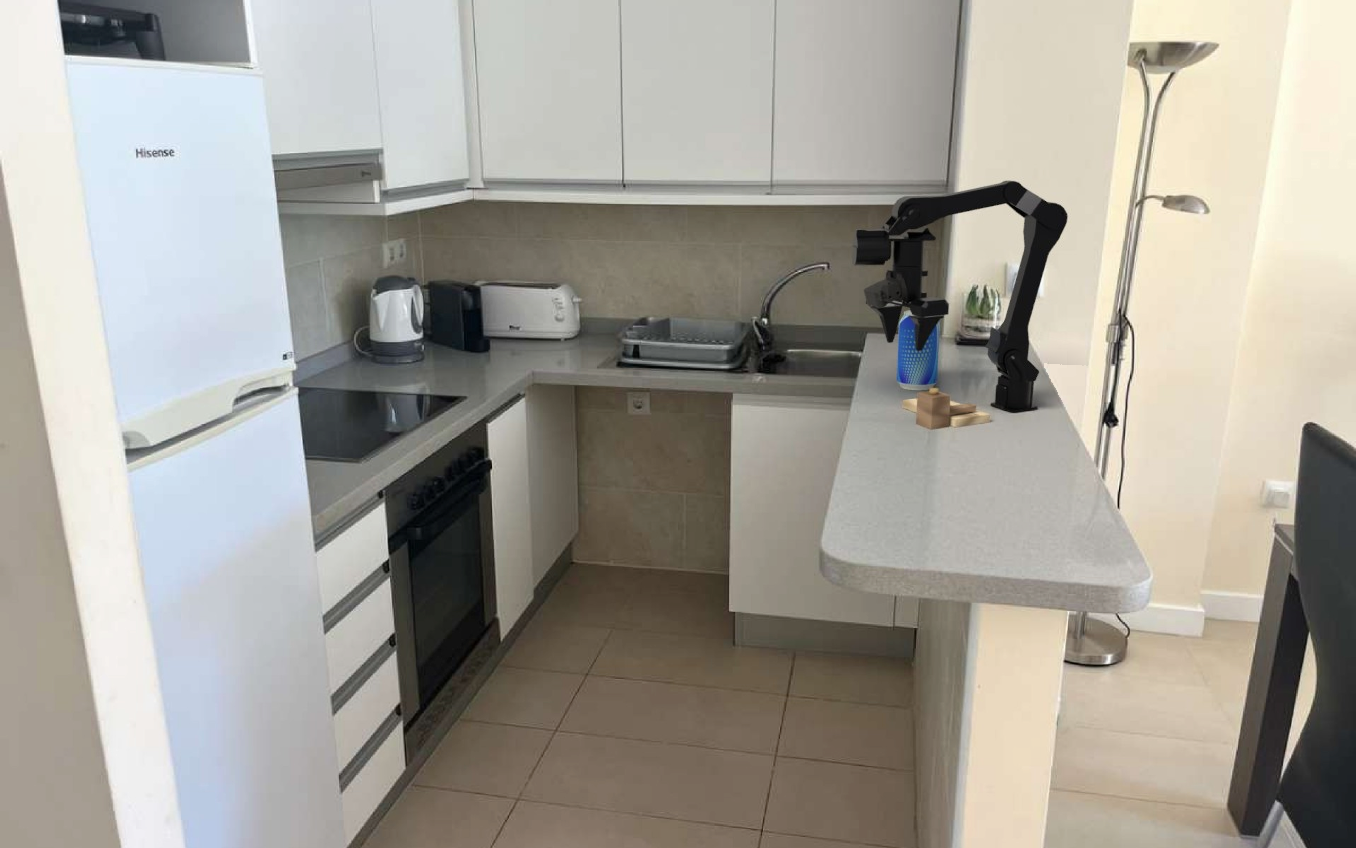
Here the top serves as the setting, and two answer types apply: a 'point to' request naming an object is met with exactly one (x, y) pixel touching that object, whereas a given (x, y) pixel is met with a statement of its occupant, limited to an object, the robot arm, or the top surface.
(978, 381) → the top surface
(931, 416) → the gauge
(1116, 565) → the top surface
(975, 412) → the board
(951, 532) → the top surface
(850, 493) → the top surface
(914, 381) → the beer can
